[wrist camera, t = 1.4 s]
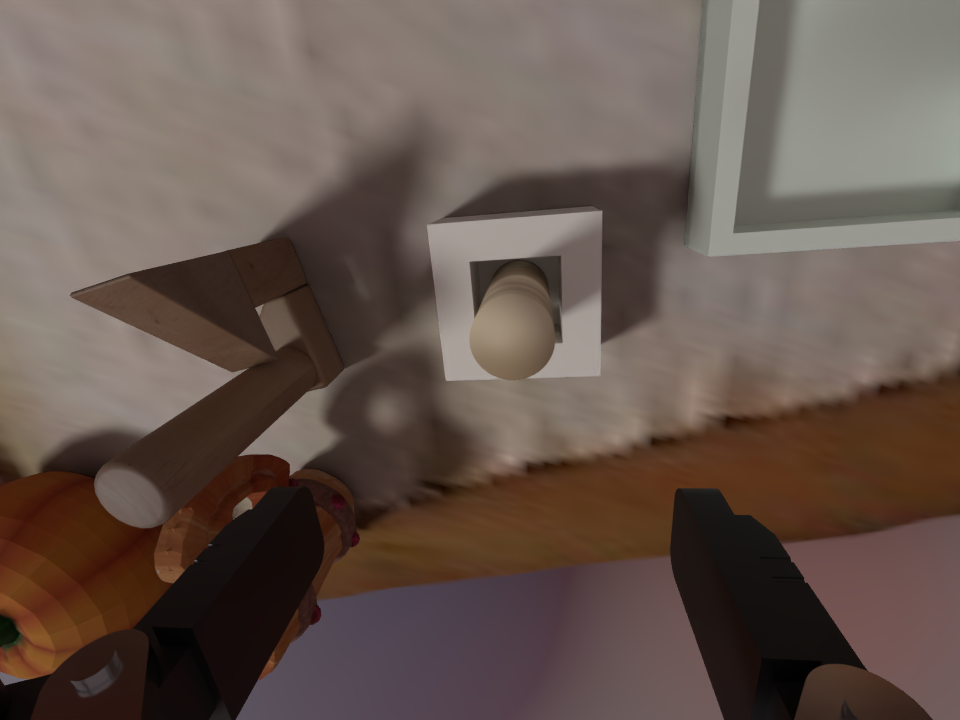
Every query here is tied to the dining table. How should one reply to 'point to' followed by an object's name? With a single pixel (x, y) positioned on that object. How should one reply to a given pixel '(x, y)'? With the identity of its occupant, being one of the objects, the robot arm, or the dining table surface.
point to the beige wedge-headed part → (226, 343)
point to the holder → (533, 237)
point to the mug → (253, 480)
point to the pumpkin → (67, 571)
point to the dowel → (514, 323)
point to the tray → (825, 125)
